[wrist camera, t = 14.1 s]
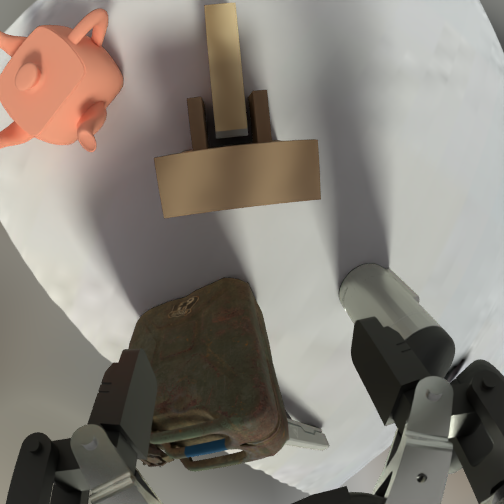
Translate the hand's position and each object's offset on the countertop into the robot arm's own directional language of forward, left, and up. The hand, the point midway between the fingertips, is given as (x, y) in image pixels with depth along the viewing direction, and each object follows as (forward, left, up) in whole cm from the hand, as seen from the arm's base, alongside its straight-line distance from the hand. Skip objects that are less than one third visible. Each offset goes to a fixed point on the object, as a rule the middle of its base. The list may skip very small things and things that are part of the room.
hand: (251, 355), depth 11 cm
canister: (+7, +18, -30) cm, 36 cm away
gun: (-8, +50, -30) cm, 59 cm away
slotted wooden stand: (-1, -7, -30) cm, 31 cm away
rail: (-1, -16, -30) cm, 34 cm away
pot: (+20, -18, -30) cm, 41 cm away
